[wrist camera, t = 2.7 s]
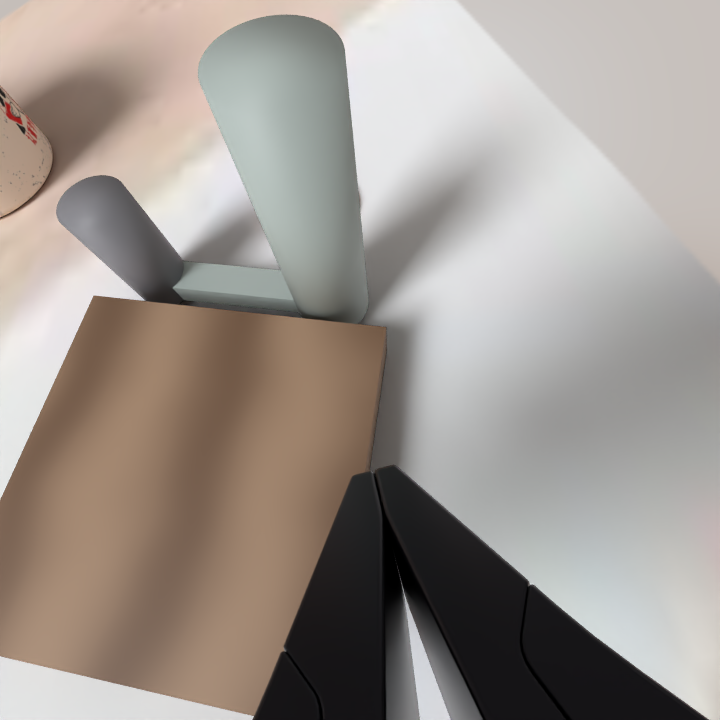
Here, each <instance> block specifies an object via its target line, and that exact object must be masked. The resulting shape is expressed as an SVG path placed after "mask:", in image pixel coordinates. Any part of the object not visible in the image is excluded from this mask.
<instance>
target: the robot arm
mask: <svg viewBox="0 0 720 720" xmlns="http://www.w3.org/2000/svg"><path fill="white" fill-rule="evenodd" d="M397 566H398V567H397ZM398 570H399V571H398ZM399 574H400V575H399ZM400 578H401V579H400ZM401 582H402V584H401ZM402 586H403V589H404V593H405V596H406V599H407V602H408V605H409V608H410V611H411V613H412V616H413V619H414V621H415V624H416V627H417V630H418V632H419V635H420V638H421V640H422V643H423V646H424V648H425V651H426V654H427V657H428V659H429V662H430V665H431V667H432V670H433V673H434V675H435V678H436V681H437V684H438V686H439V689H440V692H441V694H442V697H443V700H444V702H445V705H446V708H447V711H448V713H449V716H450V719H451V720H709V719H707V718H706V717H704V716H703V715H702V714H700V713H699V712H698V711H696V710H695V709H693V708H692V707H691V706H689V705H688V704H686V703H685V702H684V701H682V700H681V699H679V698H678V697H677V696H675V695H674V694H672V693H671V692H670V691H668V690H667V689H666V688H664V687H663V686H661V685H660V684H659V683H657V682H656V681H654V680H653V679H652V678H650V677H649V676H647V675H646V674H645V673H643V672H642V671H641V670H639V669H638V668H637V667H635V666H634V665H633V664H631V663H630V662H629V661H627V660H626V659H624V658H623V657H622V656H620V655H619V654H618V653H616V652H615V651H614V650H612V649H611V648H610V647H608V646H607V645H606V644H604V643H603V642H602V641H600V640H599V639H598V638H596V637H595V636H594V635H593V634H591V633H590V632H589V631H588V630H586V629H585V628H584V627H583V626H582V625H580V624H579V623H578V622H577V621H576V620H574V619H573V618H572V617H571V616H569V615H568V614H567V613H566V612H565V611H563V610H562V609H561V608H560V607H559V606H557V605H556V604H555V603H554V602H553V601H552V600H550V599H549V598H548V597H547V596H546V595H545V594H544V593H542V592H541V591H540V590H539V589H538V588H537V587H536V586H534V585H530V584H529V581H528V580H527V579H526V578H525V577H524V576H523V575H521V574H520V573H519V572H518V571H517V570H516V569H515V568H513V567H512V566H511V565H510V564H509V563H508V562H506V561H505V560H504V559H503V558H502V557H501V556H500V555H498V554H497V553H496V552H495V551H494V550H493V549H492V548H490V547H489V546H488V545H487V544H486V543H485V542H484V541H482V540H481V539H480V538H479V537H478V536H477V535H475V534H474V533H473V532H472V531H471V530H470V529H469V528H467V527H466V526H465V525H464V524H463V523H462V522H461V521H459V520H458V519H457V518H456V517H455V516H454V515H452V514H451V513H450V512H449V511H448V510H447V509H446V508H444V507H443V506H442V505H441V504H440V503H439V502H438V501H436V500H435V499H434V498H433V497H432V496H431V495H429V494H428V493H427V492H426V491H425V490H424V489H423V488H421V487H420V486H419V485H418V484H417V483H416V482H415V481H413V480H412V479H411V478H410V477H409V476H408V475H407V474H405V473H404V472H403V471H402V470H401V469H400V468H398V467H397V466H396V465H390V466H386V467H383V468H379V469H376V470H375V474H374V472H373V471H367V472H363V473H359V474H355V475H353V476H352V477H351V479H350V482H349V484H348V487H347V489H346V492H345V494H344V497H343V499H342V502H341V504H340V507H339V509H338V512H337V514H336V517H335V519H334V522H333V524H332V527H331V529H330V532H329V534H328V537H327V539H326V542H325V544H324V546H323V549H322V551H321V554H320V556H319V559H318V561H317V564H316V566H315V569H314V571H313V574H312V576H311V579H310V581H309V584H308V586H307V589H306V591H305V594H304V596H303V599H302V601H301V604H300V606H299V609H298V611H297V614H296V616H295V619H294V621H293V624H292V626H291V629H290V631H289V633H288V636H287V638H286V641H285V643H284V646H283V648H284V651H282V652H281V653H280V655H279V658H278V660H277V663H276V665H275V668H274V670H273V673H272V675H271V678H270V680H269V683H268V685H267V687H266V690H265V692H264V694H263V697H262V699H261V701H260V704H259V706H258V708H257V710H256V713H255V715H254V717H253V720H420V717H419V709H418V701H417V693H416V685H415V677H414V669H413V661H412V653H411V645H410V637H409V629H408V621H407V613H406V606H405V599H404V593H403V589H402Z"/></svg>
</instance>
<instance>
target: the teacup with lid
mask: <svg viewBox="0 0 720 720" xmlns="http://www.w3.org/2000/svg"><path fill="white" fill-rule="evenodd" d="M52 161H53V152H52V148H51V145H50V143H49V141H48V139H47V138H46V136H45V135H44V134H43V133H42V132H41V131H40V129H39V128H38V127H37V126H36V125H35V124H34V123H33V122H32V120H31V119H30V118H29V117H28V116H27V115H26V114H25V113H24V111H23V110H22V109H21V108H20V107H19V106H18V105H17V104H16V103H15V101H14V100H13V99H12V98H11V97H10V96H9V95H8V94H7V92H6V91H5V90H4V89H3V88H2V87H1V86H0V217H2V216H5V215H7V214H8V213H10V212H12V211H14V210H15V209H17V208H19V207H20V206H21V205H23V204H24V203H25V202H27V201H28V200H29V199H30V198H31V197H32V196H33V195H34V194H35V193H36V192H37V191H38V190H39V189H40V188H41V186H42V185H43V183H44V182H45V180H46V179H47V177H48V175H49V172H50V170H51V166H52Z"/></svg>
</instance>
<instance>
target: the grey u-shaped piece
mask: <svg viewBox="0 0 720 720" xmlns="http://www.w3.org/2000/svg"><path fill="white" fill-rule="evenodd" d="M198 78H199V82H200V85H201V87H202V89H203V92H204V94H205V96H206V99H207V101H208V103H209V106H210V108H211V110H212V113H213V115H214V117H215V119H216V122H217V124H218V126H219V129H220V131H221V133H222V136H223V138H224V140H225V143H226V145H227V147H228V149H229V152H230V154H231V156H232V159H233V161H234V163H235V166H236V168H237V170H238V173H239V175H240V177H241V180H242V182H243V184H244V186H245V189H246V191H247V193H248V196H249V198H250V200H251V203H252V205H253V207H254V210H255V212H256V214H257V216H258V219H259V221H260V223H261V226H262V228H263V230H264V233H265V235H266V237H267V240H268V242H269V244H270V246H271V249H272V251H273V253H274V256H275V258H276V260H277V263H278V265H279V267H280V270H274V269H263V268H253V267H242V266H231V265H221V264H210V263H199V262H189V261H183V260H182V258H181V257H180V256H179V255H178V253H177V252H176V251H175V249H174V248H173V247H172V246H171V244H170V243H169V242H168V241H167V239H166V238H165V237H164V235H163V234H162V233H161V232H160V230H159V229H158V228H157V227H156V225H155V224H154V223H153V222H152V220H151V219H150V218H149V216H148V215H147V214H146V213H145V211H144V210H143V209H142V208H141V206H140V205H139V204H138V203H137V201H136V200H135V199H134V197H133V196H132V195H131V194H130V192H129V191H128V190H127V189H126V187H125V186H124V185H123V184H122V182H121V181H119V180H118V179H116V178H114V177H111V176H105V175H100V176H93V177H89V178H86V179H83V180H81V181H79V182H77V183H76V184H74V185H73V186H71V187H70V188H69V189H68V190H67V191H66V192H65V193H64V194H63V195H62V197H61V198H60V200H59V202H58V205H57V210H56V214H57V218H58V220H59V222H60V223H61V224H62V225H63V226H64V227H65V228H66V229H67V230H69V231H70V232H71V233H72V234H73V235H74V236H75V237H76V238H77V239H78V240H80V241H81V242H82V243H83V244H84V245H85V246H86V247H87V248H88V249H89V250H91V251H92V252H93V253H94V254H95V255H96V256H97V257H98V258H99V259H100V260H102V261H103V262H104V263H105V264H106V265H107V266H108V267H109V268H110V269H111V270H113V271H114V272H115V273H116V274H117V275H118V276H119V277H120V278H121V279H122V280H124V281H125V282H126V283H127V284H128V285H129V286H130V287H131V288H132V289H133V290H135V291H136V292H137V293H138V294H139V295H140V296H141V297H142V298H143V299H144V300H146V301H148V302H157V303H167V304H176V305H177V304H179V303H181V302H182V301H184V300H188V301H197V302H206V303H216V304H225V305H235V306H244V307H253V308H263V309H272V310H282V311H291V312H299V313H300V316H301V318H305V319H315V320H324V321H333V322H343V323H352V324H358V323H359V322H360V321H361V320H362V319H363V317H364V316H365V314H366V311H367V309H368V303H369V298H368V287H367V277H366V266H365V256H364V246H363V235H362V225H361V214H360V204H359V193H358V183H357V173H356V162H355V152H354V141H353V131H352V120H351V110H350V100H349V89H348V79H347V68H346V58H345V49H344V45H343V42H342V40H341V38H340V37H339V35H338V34H337V33H336V32H335V31H334V30H333V29H332V28H331V27H329V26H328V25H326V24H325V23H323V22H321V21H318V20H316V19H313V18H309V17H305V16H298V15H273V16H266V17H261V18H257V19H253V20H250V21H247V22H244V23H242V24H240V25H237V26H235V27H233V28H232V29H230V30H228V31H226V32H225V33H223V34H222V35H220V36H219V37H218V38H217V39H216V40H214V41H213V43H212V44H211V45H210V46H209V47H208V48H207V49H206V51H205V52H204V54H203V56H202V58H201V60H200V63H199V67H198Z"/></svg>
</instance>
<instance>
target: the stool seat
mask: <svg viewBox="0 0 720 720" xmlns="http://www.w3.org/2000/svg"><path fill="white" fill-rule="evenodd" d="M386 352H387V339H386V327H380V326H370V325H361V324H352V323H343V322H333V321H324V320H315V319H305V318H296V317H287V316H278V315H268V314H259V313H250V312H241V311H231V310H222V309H213V308H204V307H194V306H185V305H176V304H167V303H157V302H148V301H139V300H130V299H120V298H111V297H102V296H93V298H92V301H91V303H90V305H89V307H88V309H87V312H86V314H85V316H84V318H83V320H82V323H81V325H80V327H79V329H78V331H77V333H76V336H75V338H74V340H73V342H72V344H71V347H70V349H69V351H68V353H67V355H66V357H65V360H64V362H63V364H62V366H61V368H60V371H59V373H58V375H57V377H56V379H55V382H54V384H53V386H52V388H51V390H50V392H49V395H48V397H47V399H46V401H45V403H44V406H43V408H42V410H41V412H40V414H39V417H38V419H37V421H36V423H35V425H34V427H33V430H32V432H31V434H30V436H29V438H28V441H27V443H26V445H25V447H24V449H23V451H22V454H21V456H20V458H19V460H18V462H17V465H16V467H15V469H14V471H13V473H12V476H11V478H10V480H9V482H8V484H7V486H6V489H5V491H4V493H3V495H2V497H1V500H0V656H2V657H6V658H10V659H15V660H19V661H23V662H27V663H31V664H36V665H40V666H44V667H48V668H53V669H57V670H61V671H65V672H70V673H74V674H78V675H82V676H87V677H91V678H95V679H99V680H103V681H108V682H112V683H116V684H120V685H125V686H129V687H133V688H137V689H142V690H146V691H150V692H154V693H159V694H163V695H167V696H171V697H175V698H180V699H184V700H188V701H192V702H197V703H201V704H205V705H209V706H214V707H218V708H222V709H226V710H231V711H235V712H239V713H243V714H247V715H252V716H254V715H255V713H256V710H257V708H258V706H259V704H260V701H261V699H262V697H263V694H264V692H265V690H266V687H267V685H268V683H269V680H270V678H271V675H272V673H273V670H274V668H275V665H276V663H277V660H278V658H279V655H280V653H281V652H282V651H284V648H283V646H284V643H285V641H286V638H287V636H288V633H289V631H290V629H291V626H292V624H293V621H294V619H295V616H296V614H297V611H298V609H299V606H300V604H301V601H302V599H303V596H304V594H305V591H306V589H307V586H308V584H309V581H310V579H311V576H312V574H313V571H314V569H315V566H316V564H317V561H318V559H319V556H320V554H321V551H322V549H323V546H324V544H325V542H326V539H327V537H328V534H329V532H330V529H331V527H332V524H333V522H334V519H335V517H336V514H337V512H338V509H339V507H340V504H341V502H342V499H343V497H344V494H345V492H346V489H347V487H348V484H349V482H350V479H351V477H352V476H353V475H355V474H359V473H363V472H367V471H370V464H371V457H372V450H373V443H374V436H375V429H376V422H377V415H378V408H379V401H380V394H381V387H382V380H383V373H384V366H385V359H386Z"/></svg>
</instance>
